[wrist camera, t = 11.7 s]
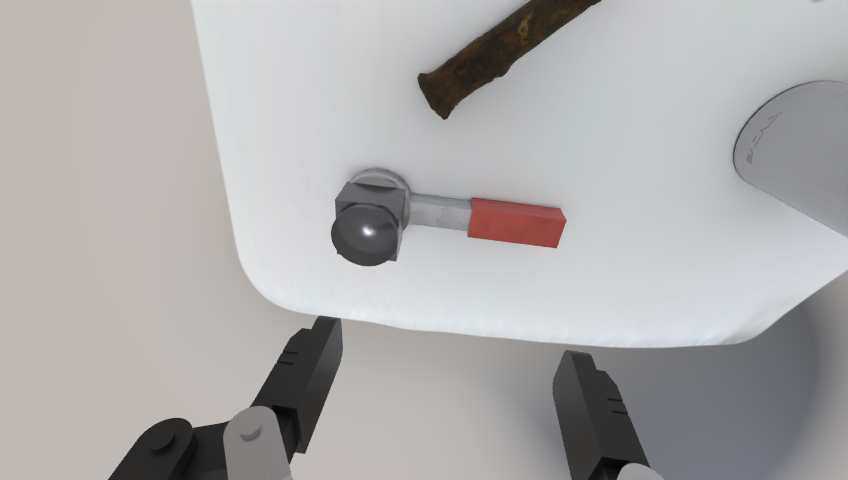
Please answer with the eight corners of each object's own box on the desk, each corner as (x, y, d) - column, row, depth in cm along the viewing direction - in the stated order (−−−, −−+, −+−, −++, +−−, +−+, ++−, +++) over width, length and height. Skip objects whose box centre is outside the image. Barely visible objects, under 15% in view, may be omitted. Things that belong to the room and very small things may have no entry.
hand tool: (441, 115, 33) (439, 128, 29) (417, 74, 31) (411, 82, 27) (660, -26, 26) (696, -34, 22) (644, -86, 25) (680, -106, 21)
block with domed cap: (407, 188, 34) (399, 213, 29) (402, 240, 37) (395, 270, 32) (346, 180, 34) (329, 204, 29) (347, 233, 37) (332, 261, 32)
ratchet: (565, 191, 35) (584, 220, 30) (546, 250, 39) (559, 284, 34) (345, 164, 36) (327, 188, 31) (346, 225, 39) (330, 255, 34)
